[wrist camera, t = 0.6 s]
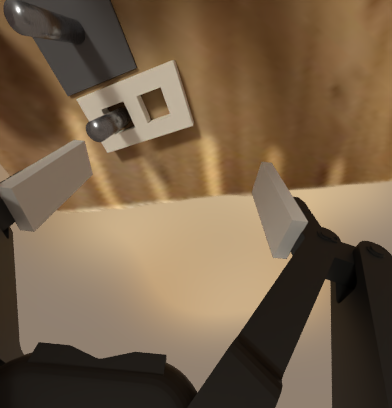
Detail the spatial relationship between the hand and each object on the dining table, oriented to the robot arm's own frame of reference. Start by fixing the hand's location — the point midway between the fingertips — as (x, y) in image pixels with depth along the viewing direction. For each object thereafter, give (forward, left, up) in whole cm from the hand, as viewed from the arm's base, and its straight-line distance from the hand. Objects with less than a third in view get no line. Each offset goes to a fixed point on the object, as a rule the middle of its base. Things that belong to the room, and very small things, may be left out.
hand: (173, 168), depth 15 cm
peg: (-16, -14, -25) cm, 33 cm away
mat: (-16, -14, -26) cm, 33 cm away
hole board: (-3, -10, -26) cm, 28 cm away
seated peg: (-3, -13, -26) cm, 29 cm away
